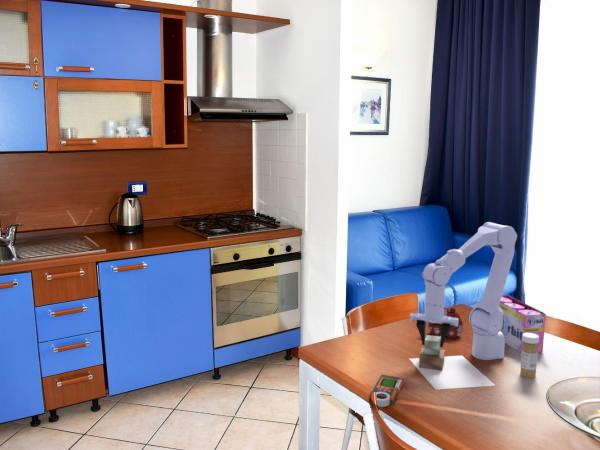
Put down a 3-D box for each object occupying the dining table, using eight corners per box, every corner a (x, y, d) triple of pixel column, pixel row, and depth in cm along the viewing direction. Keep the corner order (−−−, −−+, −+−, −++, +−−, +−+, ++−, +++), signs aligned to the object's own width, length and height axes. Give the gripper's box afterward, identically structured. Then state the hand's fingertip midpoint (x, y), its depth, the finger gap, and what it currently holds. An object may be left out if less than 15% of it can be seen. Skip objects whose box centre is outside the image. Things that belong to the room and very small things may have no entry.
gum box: (484, 329, 208) (486, 294, 205) (503, 328, 209) (505, 293, 207) (522, 354, 184) (525, 315, 182) (543, 352, 186) (546, 313, 184)
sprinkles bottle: (532, 374, 169) (535, 332, 167) (538, 381, 164) (541, 337, 162) (516, 374, 169) (519, 332, 167) (523, 381, 164) (526, 337, 162)
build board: (461, 357, 181) (461, 355, 181) (495, 387, 160) (495, 385, 160) (408, 361, 179) (408, 358, 178) (435, 392, 157) (435, 389, 157)
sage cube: (440, 350, 174) (441, 336, 174) (439, 355, 170) (439, 341, 170) (425, 348, 176) (426, 335, 175) (424, 353, 172) (424, 340, 171)
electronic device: (367, 397, 150) (381, 372, 163) (367, 407, 150) (381, 381, 164) (392, 401, 147) (404, 376, 161) (392, 412, 148) (404, 386, 161)
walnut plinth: (444, 361, 176) (444, 349, 175) (442, 370, 170) (442, 358, 169) (421, 358, 178) (422, 347, 178) (419, 367, 172) (419, 355, 171)
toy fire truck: (462, 339, 197) (463, 311, 196) (426, 336, 201) (427, 308, 199) (462, 333, 204) (463, 305, 202) (427, 330, 207) (428, 303, 205)
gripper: (408, 304, 169) (407, 346, 172) (458, 309, 165) (456, 352, 167) (412, 297, 176) (410, 338, 178) (459, 302, 171) (457, 344, 173)
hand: (432, 345), depth 173 cm, fingers open, 5 cm apart
